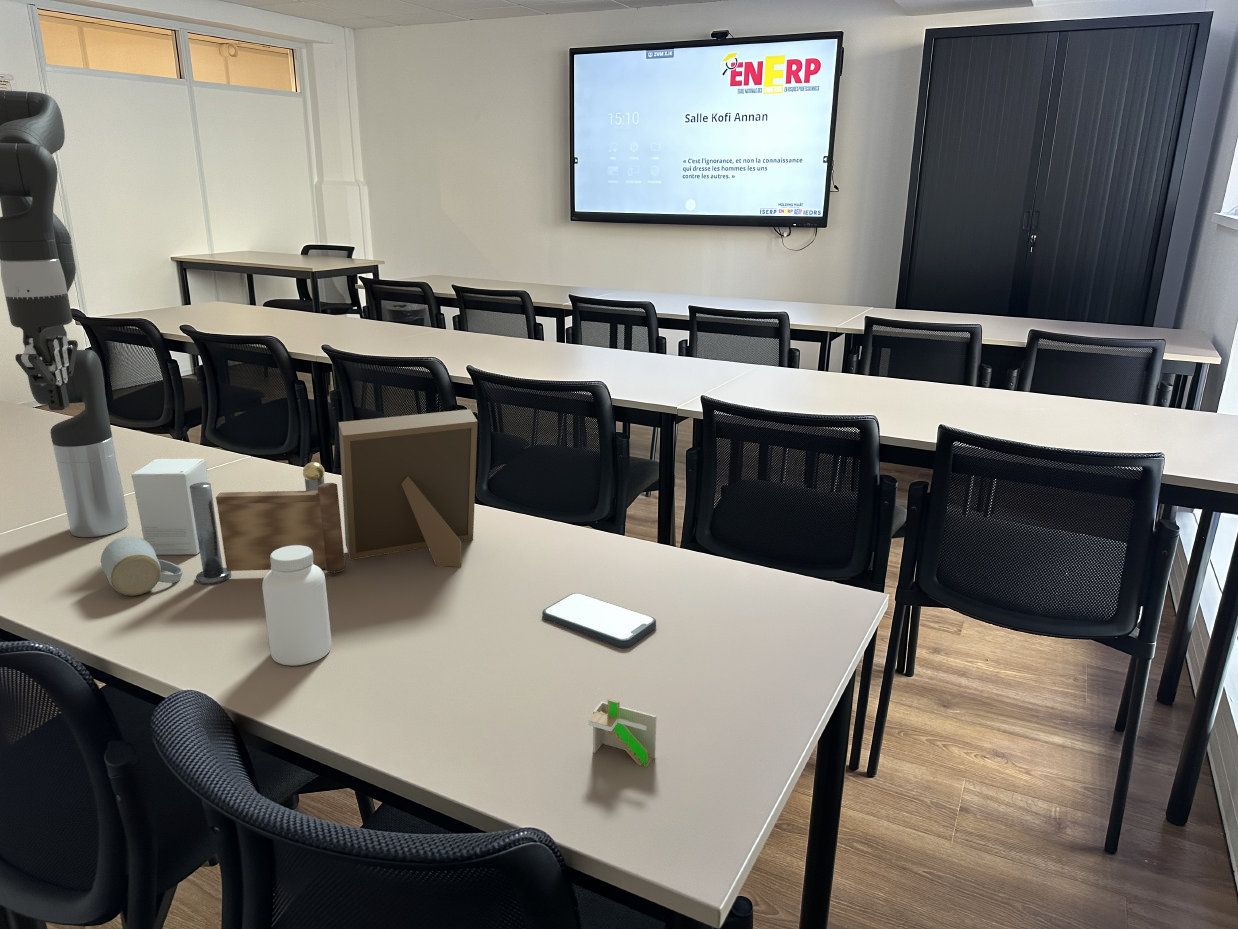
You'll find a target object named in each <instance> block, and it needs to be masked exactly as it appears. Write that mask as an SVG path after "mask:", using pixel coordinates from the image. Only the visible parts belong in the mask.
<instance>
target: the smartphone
mask: <svg viewBox="0 0 1238 929" xmlns="http://www.w3.org/2000/svg"><path fill="white" fill-rule="evenodd" d="M541 613H542V619H543V620H545V621H547V622H550V623H551V624H552V623H553V624H555V625H558V626H560V627H563V628H566V629H568V630H571V631H573V632H576V633H578V634H581V635H584V636H587V637H590V638H591V639H595V640H598V641H600V642H602V643H605V644H608V645H611V646H613V647H617V648H620V649H628V648H630V647H632V646H633V645H635V644H636V643H637V642H638V641H640V640H642V639H643V638H644V637H646V636H648V635H649V634H650V633H651V632H653V631H654V630H655V629H656V628H657V619H656V618H655V617H652V616H650V615H647V614H644V613H641V612H638V611H634V610H632V609H628V608H626V607H623V606H619V605H616V604H614V603H610V602H608V601H604V600H601V599H598V598H595V597H592V596H589V595H586V594H583V593H579V592H574V593H570V594H568V595H566V596H564V597H562V598H561V599H559V600H558V601H556V602H555V603H554V602H553V604H551V605H550V606H547V607H546V608H544V609H543V610H542V612H541Z"/></svg>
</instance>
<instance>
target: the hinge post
mask: <svg viewBox="0 0 1238 929" xmlns="http://www.w3.org/2000/svg"><path fill="white" fill-rule="evenodd" d="M190 493H191V499H192V505H193V512H194V518H195V525H196V531H197V537H198V544H199V550H200V552H199V556H200V562H201V568H202V571H200V572H199V573H197V574H196V576H195V579H196V580H195V581H196V582H197V583H198V584H200V585H209V584H210V585H217V584H221V583H223V582H226V581H228V580H229V579H231V577H232V571H227V568H226V567H224V565H223V559H222V552H221V545H220V540H219V533H218V526H217V520H216V519H217V518H216V512H215V506H214V497H213V491H212V484H211V483H210V482H209V483H207V482H201V483H195V484H192V485H191V486H190Z"/></svg>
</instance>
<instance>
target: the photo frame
mask: <svg viewBox="0 0 1238 929" xmlns="http://www.w3.org/2000/svg"><path fill="white" fill-rule="evenodd" d="M338 436H339V438H338V439H339V452H340V453H339V454H340V470H341V484H342V486H341V488H342V505H343V506H342V507H343V519H344V521H343V522H344V539H345V547H346V550H347V554H348V557H349V561H350V560H351V561H352V560H356V559H357V560H359V559H363V558H369V557H375V556H380V555H387V554H394V553H399V552H406V551H412V550H417V549H424V548H428V551H429V553H430V555H431V557H432V559H433V562H434V564H435V566H437V567H438V566H439V567H440V566H441V567H456V568H457V567H458V568H461V567H462V543H463V542H466V541H472V540H474V526H475V525H474V524H475V498H476V494H475V493H476V471H477V445H478V443H477V442H478V441H477V440H478V439H477V438H478V419H477V418H476V416H475V415H474V413H473V411H472V409H470V408H469V409H459V410H451V411H439V412H430V413H428V412H427V413H419V414H418V413H417V414H410V415H401V416H400V415H397V416H389V417H377V418H370V419H369V418H368V419H360V420H349V421H348V420H346V421H338Z"/></svg>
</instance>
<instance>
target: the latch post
mask: <svg viewBox="0 0 1238 929" xmlns="http://www.w3.org/2000/svg"><path fill="white" fill-rule="evenodd" d="M302 476H303V478H304V485H305V487H304V488H305V491H318V485H320V484H324V483H325V468H324V467H323V465H322V464H321V463H319V462H316V461H311V462H309V463H306V464H305V466H304V467H303V469H302ZM320 569H321V570H326V568H320Z"/></svg>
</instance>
